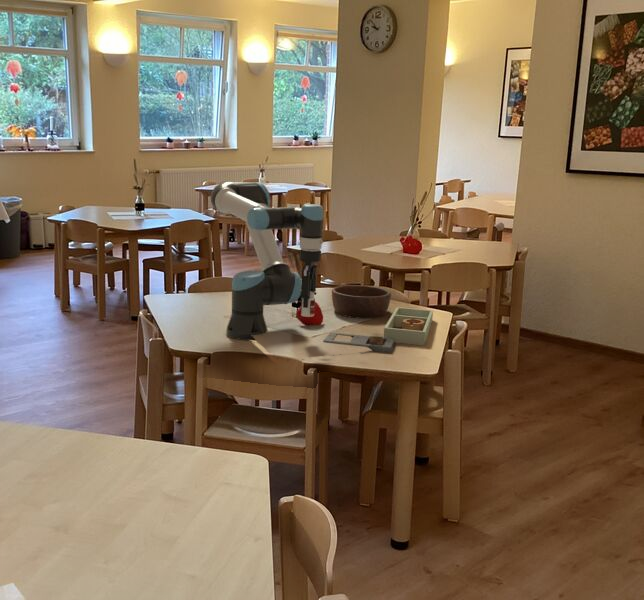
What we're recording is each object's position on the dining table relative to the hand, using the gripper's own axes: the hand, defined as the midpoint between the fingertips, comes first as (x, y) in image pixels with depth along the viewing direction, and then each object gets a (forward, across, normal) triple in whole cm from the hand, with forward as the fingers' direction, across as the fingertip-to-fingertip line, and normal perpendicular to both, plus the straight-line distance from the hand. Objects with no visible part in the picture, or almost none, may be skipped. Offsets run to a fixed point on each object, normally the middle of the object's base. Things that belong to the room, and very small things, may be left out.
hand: (307, 314), depth 265 cm
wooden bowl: (+12, +54, -10) cm, 56 cm away
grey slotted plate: (+11, +6, -18) cm, 22 cm away
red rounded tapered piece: (+10, +24, +1) cm, 26 cm away
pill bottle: (+1, 0, 0) cm, 1 cm away
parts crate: (+11, +33, -33) cm, 48 cm away
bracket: (+14, +37, -35) cm, 53 cm away
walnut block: (+11, +6, -24) cm, 27 cm away
